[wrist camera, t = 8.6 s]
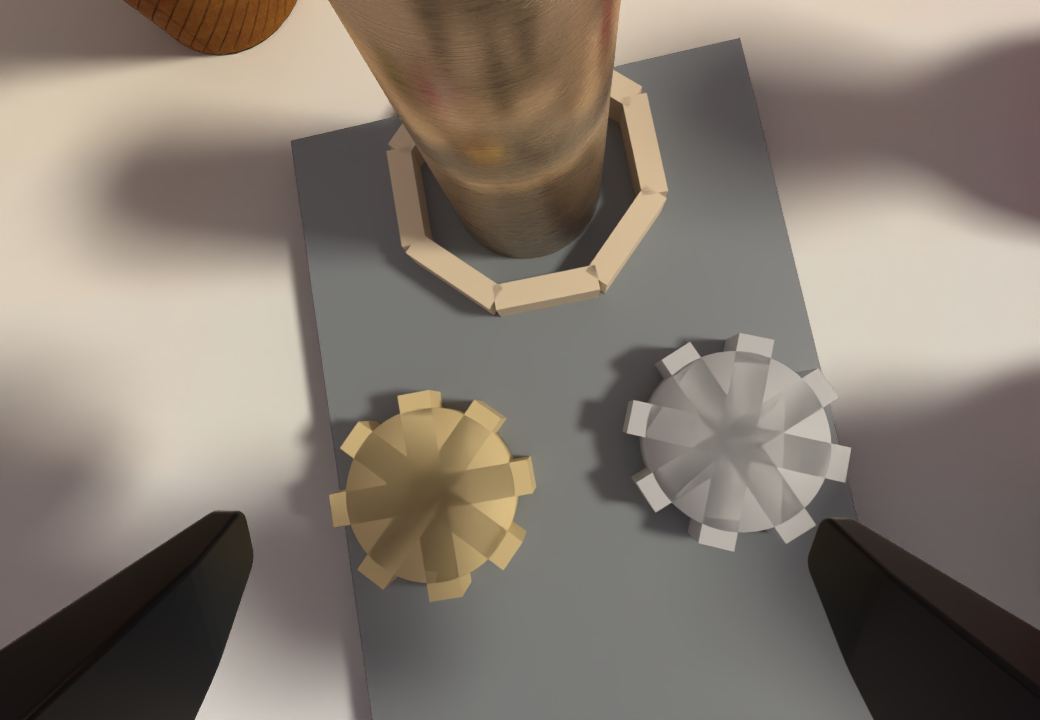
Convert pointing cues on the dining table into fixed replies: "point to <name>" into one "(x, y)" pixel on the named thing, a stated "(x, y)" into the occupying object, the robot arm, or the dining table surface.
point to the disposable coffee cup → (216, 21)
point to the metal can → (500, 106)
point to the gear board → (582, 427)
